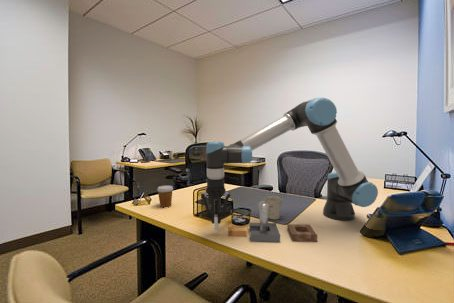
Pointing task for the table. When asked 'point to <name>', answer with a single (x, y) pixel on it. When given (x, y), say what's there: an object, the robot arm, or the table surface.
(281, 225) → the table surface
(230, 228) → the wooden block
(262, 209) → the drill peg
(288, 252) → the table surface
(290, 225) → the block
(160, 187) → the disposable coffee cup
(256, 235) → the socket block
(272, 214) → the mug
